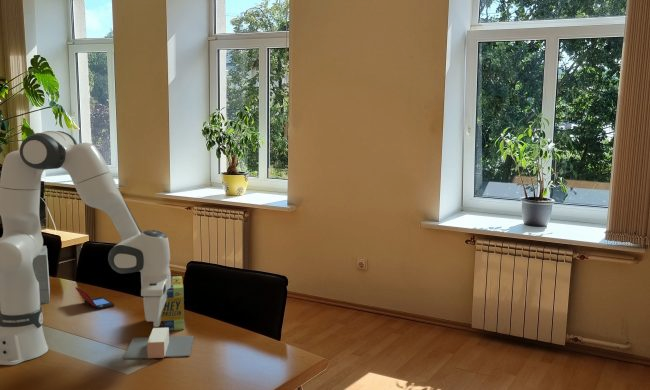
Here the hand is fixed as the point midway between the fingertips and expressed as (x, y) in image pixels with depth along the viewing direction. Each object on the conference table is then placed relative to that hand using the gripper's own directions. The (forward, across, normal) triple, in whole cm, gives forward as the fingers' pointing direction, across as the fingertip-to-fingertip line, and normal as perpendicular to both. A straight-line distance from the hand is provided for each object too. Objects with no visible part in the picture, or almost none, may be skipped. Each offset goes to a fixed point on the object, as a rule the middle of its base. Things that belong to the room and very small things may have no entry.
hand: (157, 325), depth 187 cm
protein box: (+10, -27, 0) cm, 29 cm away
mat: (+10, -5, 0) cm, 11 cm away
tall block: (+7, +4, 0) cm, 8 cm away
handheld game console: (+10, -49, -31) cm, 59 cm away
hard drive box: (+10, -60, -55) cm, 82 cm away
